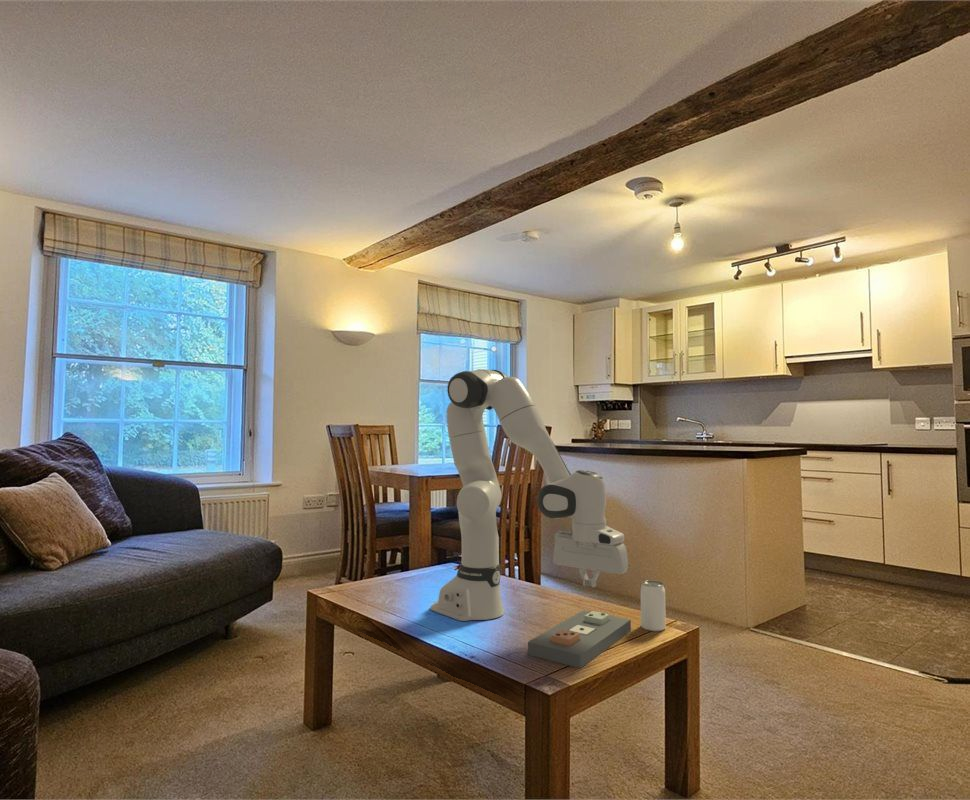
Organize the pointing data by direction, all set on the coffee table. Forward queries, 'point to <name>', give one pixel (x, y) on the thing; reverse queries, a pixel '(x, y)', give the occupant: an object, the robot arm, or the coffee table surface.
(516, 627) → the coffee table surface
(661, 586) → the can
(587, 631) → the one dot button
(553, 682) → the coffee table surface
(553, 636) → the three dot button
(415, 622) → the coffee table surface
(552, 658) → the button board
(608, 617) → the two dot button
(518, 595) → the coffee table surface
